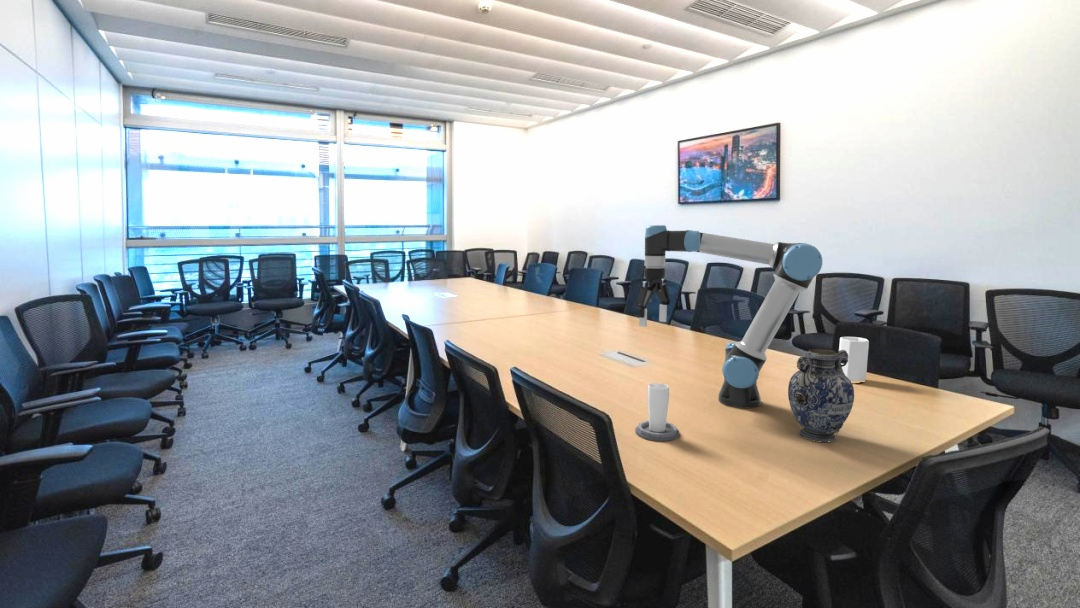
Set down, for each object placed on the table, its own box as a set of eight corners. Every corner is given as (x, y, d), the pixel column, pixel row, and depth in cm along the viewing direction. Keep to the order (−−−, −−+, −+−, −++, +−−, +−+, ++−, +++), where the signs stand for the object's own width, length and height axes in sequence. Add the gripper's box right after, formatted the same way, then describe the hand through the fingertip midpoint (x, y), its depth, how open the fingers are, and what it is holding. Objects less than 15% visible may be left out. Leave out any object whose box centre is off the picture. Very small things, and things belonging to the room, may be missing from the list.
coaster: (680, 428, 178) (681, 422, 178) (677, 443, 165) (677, 437, 164) (638, 423, 182) (639, 417, 182) (632, 438, 169) (632, 432, 169)
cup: (871, 384, 227) (875, 341, 225) (845, 384, 228) (848, 341, 225) (856, 376, 238) (859, 336, 236) (831, 376, 239) (834, 336, 236)
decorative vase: (819, 452, 158) (825, 360, 154) (769, 431, 175) (774, 348, 171) (867, 441, 166) (874, 353, 163) (816, 422, 183) (821, 342, 180)
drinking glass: (656, 435, 169) (657, 390, 167) (642, 428, 175) (643, 384, 173) (672, 431, 172) (673, 387, 170) (658, 425, 178) (659, 381, 176)
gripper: (663, 265, 208) (662, 318, 211) (626, 268, 190) (625, 327, 193) (680, 266, 202) (679, 320, 205) (644, 269, 185) (642, 329, 188)
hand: (653, 324), depth 199 cm, fingers open, 13 cm apart
